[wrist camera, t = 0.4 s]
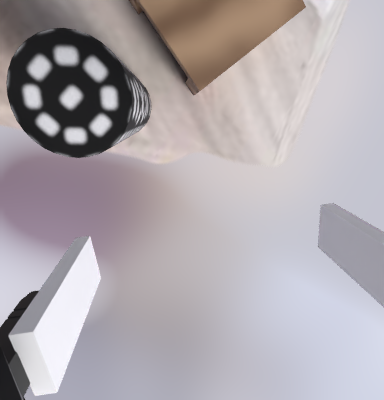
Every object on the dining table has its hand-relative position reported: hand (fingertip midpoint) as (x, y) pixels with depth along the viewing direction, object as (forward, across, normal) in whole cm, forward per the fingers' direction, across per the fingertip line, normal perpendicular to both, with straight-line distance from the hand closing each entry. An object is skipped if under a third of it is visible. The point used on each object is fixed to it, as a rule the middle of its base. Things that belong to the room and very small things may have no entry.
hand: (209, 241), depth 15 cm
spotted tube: (+27, -8, +8) cm, 29 cm away
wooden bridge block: (+27, +5, +18) cm, 33 cm away
